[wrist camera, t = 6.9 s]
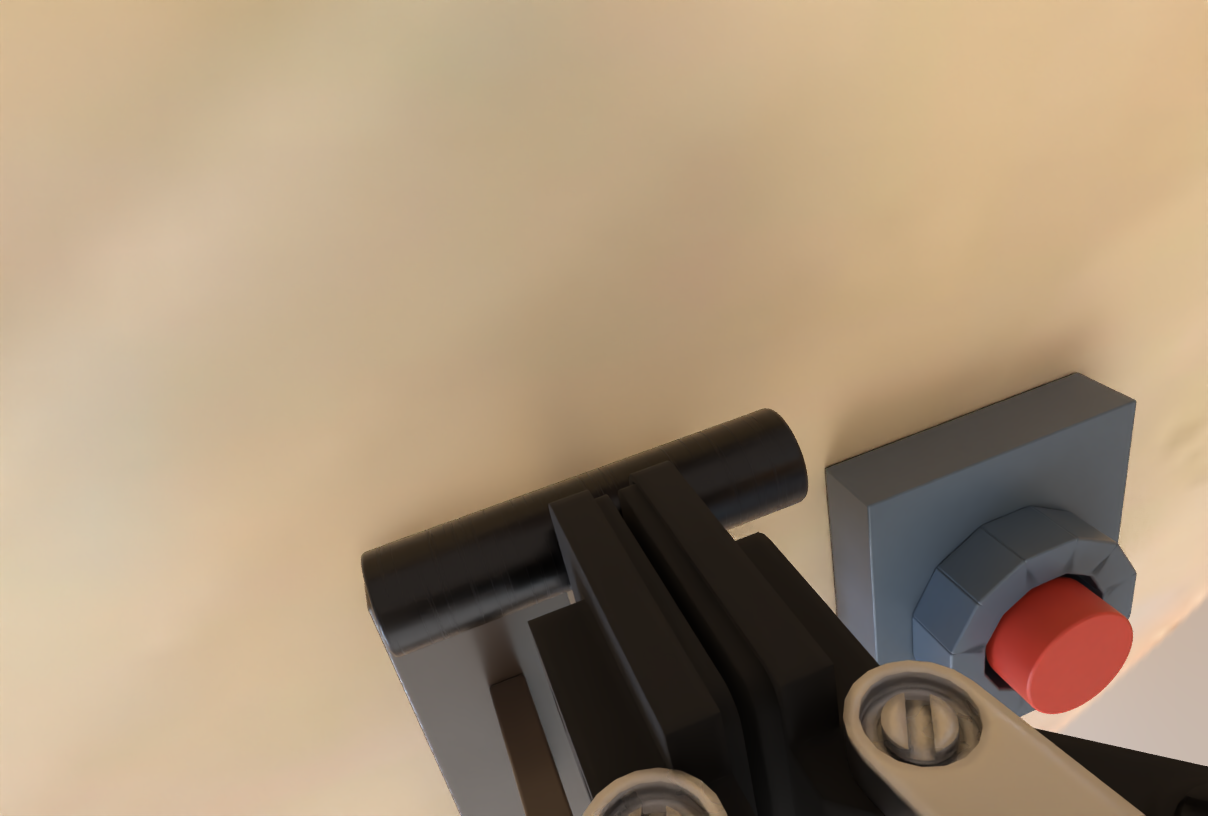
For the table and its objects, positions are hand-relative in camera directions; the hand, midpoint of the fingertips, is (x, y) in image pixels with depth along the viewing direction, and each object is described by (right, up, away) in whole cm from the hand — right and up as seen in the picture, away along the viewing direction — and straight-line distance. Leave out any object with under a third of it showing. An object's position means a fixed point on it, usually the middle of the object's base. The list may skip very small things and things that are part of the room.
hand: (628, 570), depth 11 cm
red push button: (+13, -4, +14) cm, 19 cm away
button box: (+11, -3, +17) cm, 21 cm away
